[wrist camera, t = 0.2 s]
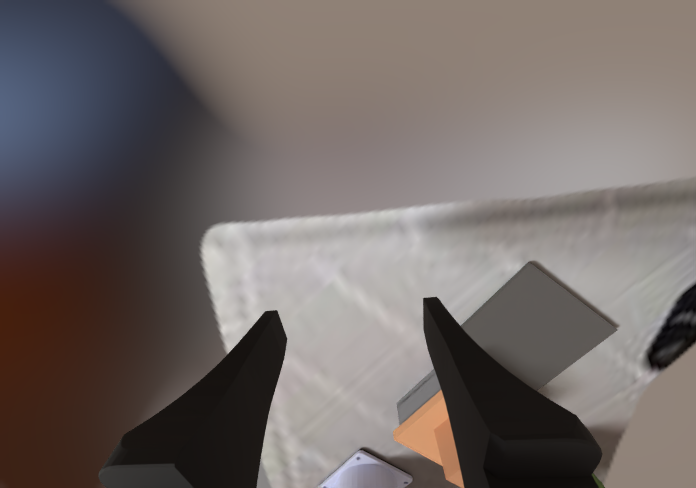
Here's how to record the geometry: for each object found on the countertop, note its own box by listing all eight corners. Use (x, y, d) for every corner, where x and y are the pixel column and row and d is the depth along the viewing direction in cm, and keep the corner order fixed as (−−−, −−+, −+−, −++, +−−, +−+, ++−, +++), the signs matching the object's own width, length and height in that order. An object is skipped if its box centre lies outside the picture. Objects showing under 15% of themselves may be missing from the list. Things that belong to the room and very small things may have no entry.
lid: (458, 459, 30) (480, 530, 24) (392, 421, 28) (399, 489, 23) (524, 410, 27) (566, 479, 21) (454, 366, 25) (479, 428, 20)
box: (452, 435, 31) (461, 464, 29) (396, 403, 30) (400, 430, 27) (506, 393, 29) (522, 421, 26) (448, 356, 27) (458, 381, 25)
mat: (520, 397, 29) (523, 400, 29) (440, 345, 27) (441, 348, 27) (614, 327, 25) (617, 329, 25) (528, 261, 24) (531, 263, 23)
